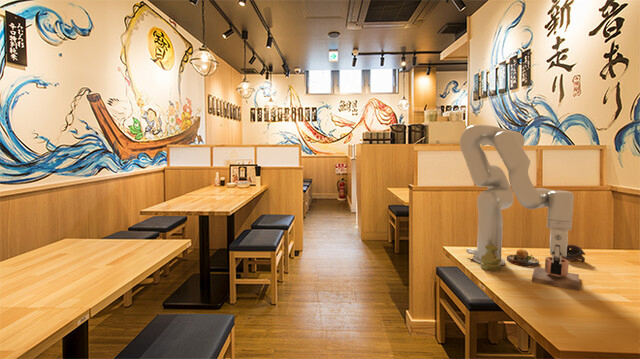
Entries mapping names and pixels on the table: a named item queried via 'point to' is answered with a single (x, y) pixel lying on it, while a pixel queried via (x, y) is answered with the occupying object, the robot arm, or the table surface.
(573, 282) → the post stand
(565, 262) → the ring
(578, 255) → the pottery mug
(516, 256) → the burger
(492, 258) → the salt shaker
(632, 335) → the table surface
